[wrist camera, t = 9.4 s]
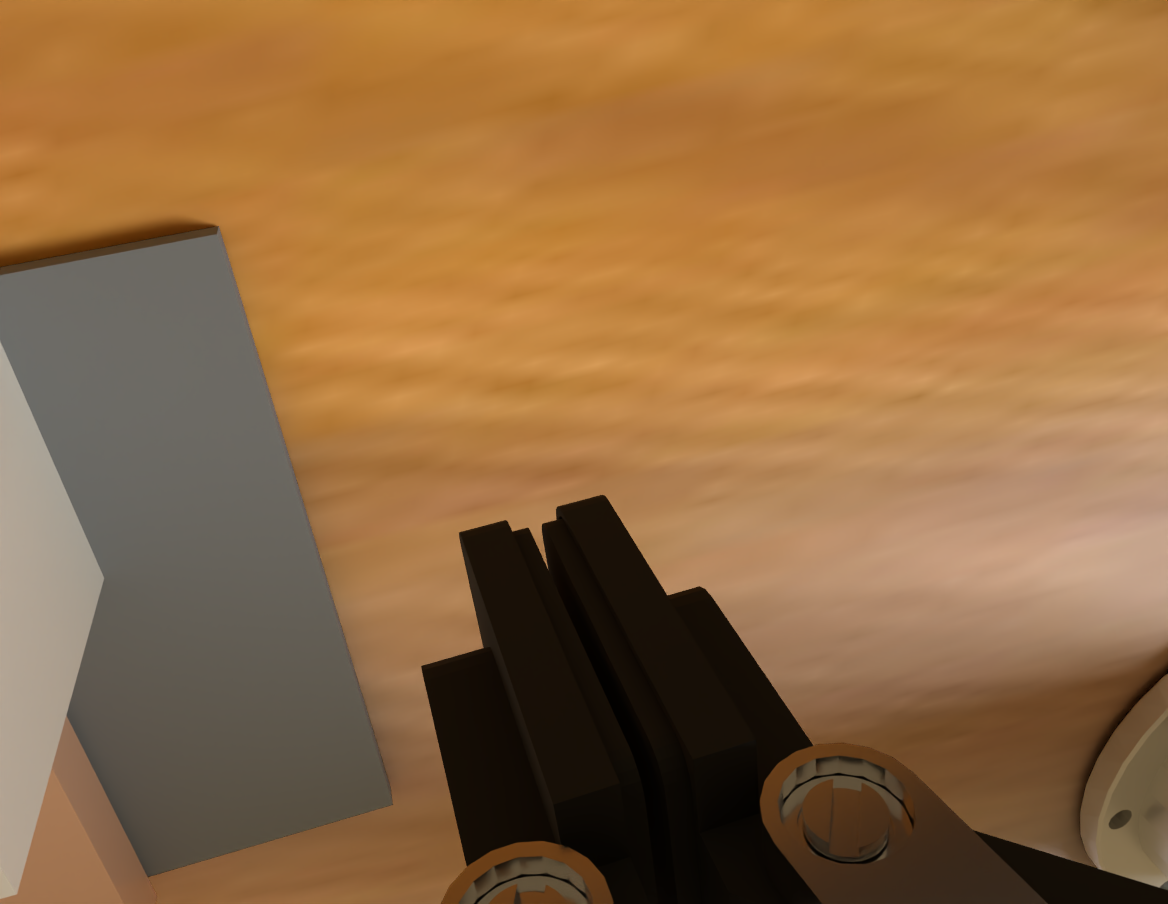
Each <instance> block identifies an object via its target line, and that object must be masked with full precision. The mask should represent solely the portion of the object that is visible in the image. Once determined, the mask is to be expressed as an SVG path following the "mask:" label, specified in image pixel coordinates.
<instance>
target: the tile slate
mask: <svg viewBox="0 0 1168 904" xmlns="http://www.w3.org/2000/svg"><path fill="white" fill-rule="evenodd" d="M103 581H104V577H103V574H102V572H101V570H100V567H99V565H98V563H97V561H96V558H95V556H94V554H93V551H92V549H91V547H90V545H89V542H88V540H87V538H86V536H85V533H84V531H83V529H82V526H81V524H80V522H79V520H78V517H77V515H76V513H75V510H74V508H73V506H72V504H71V501H70V499H69V497H68V494H67V492H66V490H65V488H64V485H63V483H62V481H61V479H60V476H59V474H58V472H57V469H56V467H55V465H54V463H53V460H52V458H51V456H50V453H49V451H48V449H47V447H46V444H45V442H44V440H43V437H42V435H41V433H40V431H39V428H38V426H37V424H36V422H35V419H34V417H33V415H32V412H31V410H30V408H29V406H28V403H27V401H26V399H25V396H24V394H23V392H22V390H21V387H20V385H19V383H18V380H17V378H16V376H15V374H14V371H13V369H12V367H11V365H10V362H9V360H8V358H7V355H6V353H5V351H4V349H3V346H2V344H1V342H0V899H2V898H6V897H9V896H13V895H16V894H17V892H18V889H19V885H20V881H21V878H22V874H23V870H24V867H25V863H26V860H27V856H28V852H29V849H30V845H31V842H32V838H33V834H34V831H35V827H36V823H37V820H38V816H39V813H40V809H41V805H42V802H43V798H44V794H45V791H46V787H47V784H48V780H49V776H50V773H51V769H52V765H53V762H54V758H55V755H56V751H57V747H58V744H59V740H60V736H61V733H62V729H63V726H64V722H65V718H66V715H67V711H68V707H69V704H70V700H71V697H72V693H73V689H74V686H75V682H76V678H77V675H78V671H79V668H80V664H81V660H82V657H83V653H84V649H85V646H86V642H87V639H88V635H89V631H90V628H91V624H92V620H93V617H94V613H95V610H96V606H97V602H98V599H99V595H100V591H101V588H102V584H103Z"/></svg>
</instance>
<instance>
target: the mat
mask: <svg viewBox="0 0 1168 904" xmlns="http://www.w3.org/2000/svg"><path fill="white" fill-rule="evenodd" d="M0 342H1V344H2V346H3V349H4V351H5V353H6V355H7V358H8V360H9V362H10V365H11V367H12V369H13V371H14V374H15V376H16V378H17V380H18V383H19V385H20V387H21V390H22V392H23V394H24V396H25V399H26V401H27V403H28V406H29V408H30V410H31V412H32V415H33V417H34V419H35V422H36V424H37V426H38V428H39V431H40V433H41V435H42V437H43V440H44V442H45V444H46V447H47V449H48V451H49V453H50V456H51V458H52V460H53V463H54V465H55V467H56V469H57V472H58V474H59V476H60V479H61V481H62V483H63V485H64V488H65V490H66V492H67V494H68V497H69V499H70V501H71V504H72V506H73V508H74V510H75V513H76V515H77V517H78V520H79V522H80V524H81V526H82V529H83V531H84V533H85V536H86V538H87V540H88V542H89V545H90V547H91V549H92V551H93V554H94V556H95V558H96V561H97V563H98V565H99V567H100V570H101V572H102V574H103V577H104V581H103V584H102V588H101V591H100V595H99V599H98V602H97V606H96V610H95V613H94V617H93V620H92V624H91V628H90V631H89V635H88V639H87V642H86V646H85V649H84V653H83V657H82V660H81V664H80V668H79V671H78V675H77V678H76V682H75V686H74V689H73V693H72V697H71V700H70V704H69V707H68V711H67V715H66V716H67V718H68V720H69V722H70V724H71V726H72V728H73V730H74V732H75V734H76V736H77V738H78V740H79V742H80V744H81V745H82V747H83V749H84V751H85V753H86V755H87V757H88V759H89V761H90V763H91V765H92V767H93V769H94V771H95V773H96V775H97V777H98V779H99V781H100V783H101V785H102V787H103V789H104V791H105V793H106V795H107V797H108V799H109V801H110V803H111V805H112V807H113V809H114V811H115V813H116V815H117V817H118V819H119V821H120V823H121V825H122V827H123V829H124V831H125V833H126V835H127V837H128V839H129V841H130V843H131V845H132V847H133V849H134V851H135V853H136V855H137V857H138V859H139V861H140V863H141V865H142V867H143V869H144V871H145V873H146V875H147V877H150V876H153V875H157V874H160V873H163V872H167V871H170V870H174V869H177V868H180V867H184V866H187V865H191V864H194V863H197V862H201V861H204V860H207V859H211V858H214V857H218V856H221V855H224V854H228V853H231V852H235V851H238V850H241V849H245V848H248V847H251V846H255V845H258V844H262V843H265V842H268V841H272V840H275V839H279V838H282V837H285V836H289V835H292V834H296V833H299V832H302V831H306V830H309V829H312V828H316V827H319V826H323V825H326V824H329V823H333V822H336V821H340V820H343V819H346V818H350V817H353V816H357V815H360V814H363V813H367V812H370V811H373V810H377V809H380V808H384V807H387V806H390V805H393V803H392V795H391V788H390V784H389V781H388V778H387V775H386V771H385V768H384V765H383V761H382V758H381V755H380V752H379V748H378V745H377V742H376V739H375V735H374V732H373V729H372V726H371V722H370V719H369V716H368V712H367V709H366V706H365V703H364V699H363V696H362V693H361V690H360V686H359V683H358V680H357V677H356V673H355V670H354V667H353V663H352V660H351V657H350V654H349V650H348V647H347V644H346V641H345V637H344V634H343V631H342V627H341V624H340V621H339V618H338V614H337V611H336V608H335V605H334V601H333V598H332V595H331V592H330V588H329V585H328V582H327V578H326V575H325V572H324V569H323V565H322V562H321V559H320V556H319V552H318V549H317V546H316V543H315V539H314V536H313V533H312V529H311V526H310V523H309V520H308V516H307V513H306V510H305V507H304V503H303V500H302V497H301V494H300V490H299V487H298V484H297V480H296V477H295V474H294V471H293V467H292V464H291V461H290V458H289V454H288V451H287V448H286V445H285V441H284V438H283V435H282V431H281V428H280V425H279V422H278V418H277V415H276V412H275V409H274V405H273V402H272V399H271V396H270V392H269V389H268V386H267V382H266V379H265V376H264V373H263V369H262V366H261V363H260V360H259V356H258V353H257V350H256V346H255V343H254V340H253V337H252V333H251V330H250V327H249V324H248V320H247V317H246V314H245V311H244V307H243V304H242V301H241V297H240V294H239V291H238V288H237V284H236V281H235V278H234V275H233V271H232V268H231V265H230V262H229V258H228V255H227V252H226V248H225V245H224V242H223V239H222V235H221V232H220V229H219V226H217V227H211V228H206V229H201V230H195V231H190V232H185V233H179V234H174V235H169V236H164V237H158V238H153V239H148V240H142V241H137V242H132V243H126V244H121V245H116V246H111V247H105V248H100V249H95V250H89V251H84V252H79V253H73V254H68V255H63V256H57V257H52V258H47V259H42V260H36V261H31V262H26V263H20V264H15V265H10V266H4V267H0Z"/></svg>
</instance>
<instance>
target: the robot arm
mask: <svg viewBox="0 0 1168 904" xmlns="http://www.w3.org/2000/svg"><path fill="white" fill-rule="evenodd" d="M556 518H557V520H555V521H551V522H548V523H544V524H542V534H543V541H544V547H545V553H546V558H547V564H548V569H547V566H546V564H545V562H544V560H543V558H542V556H541V553H540V551H539V549H538V547H537V545H536V542H535V540H534V538H533V536H532V534H531V532H530V530H529V528H525V529H521V530H517V531H514V532H512V530H511V528H510V526H509V524H508V522H507V521H506V520H505V521H501V522H497V523H493V524H489V525H486V526H482V527H478V528H474V529H470V530H467V531H463V532H459V537H460V543H461V548H462V552H463V557H464V561H465V566H466V570H467V575H468V579H469V584H470V589H471V593H472V598H473V602H474V607H475V611H476V616H477V620H478V625H479V629H480V634H481V638H482V643H483V649H479V650H476V651H472V652H469V653H465V654H462V655H458V656H455V657H451V658H448V659H444V660H441V661H437V662H434V663H430V664H427V665H423V666H421V668H422V673H423V677H424V682H425V686H426V690H427V695H428V699H429V704H430V708H431V712H432V717H433V721H434V725H435V730H436V734H437V738H438V743H439V747H440V752H441V756H442V760H443V765H444V769H445V773H446V778H447V782H448V786H449V791H450V795H451V799H452V804H453V808H454V813H455V817H456V821H457V826H458V830H459V834H460V839H461V843H462V847H463V852H464V856H465V861H466V865H467V868H466V869H465V870H464V871H463V872H462V873H461V874H460V875H459V876H458V877H457V878H456V880H455V881H454V882H453V883H452V884H451V885H450V886H449V888H448V890H447V892H446V894H445V896H444V898H443V900H442V902H441V904H1168V673H1167V674H1166V675H1165V676H1163V677H1162V678H1161V679H1160V680H1159V681H1158V682H1157V683H1156V684H1155V685H1154V686H1153V687H1152V688H1151V689H1150V690H1149V691H1148V692H1147V693H1146V694H1145V695H1144V696H1143V697H1142V698H1141V699H1140V700H1139V701H1138V702H1137V703H1136V704H1135V706H1134V707H1133V708H1132V709H1131V711H1130V712H1129V713H1128V714H1127V715H1126V717H1125V718H1124V719H1123V720H1122V722H1121V723H1120V724H1119V725H1118V727H1117V728H1116V729H1115V730H1114V732H1113V734H1112V735H1111V737H1110V739H1109V740H1108V742H1107V743H1106V745H1105V747H1104V748H1103V750H1102V752H1101V753H1100V755H1099V757H1098V758H1097V761H1096V763H1095V765H1094V768H1093V770H1092V772H1091V775H1090V777H1089V779H1088V782H1087V784H1086V788H1085V792H1084V797H1083V801H1082V806H1081V811H1080V835H1081V838H1082V841H1083V844H1084V847H1085V851H1086V853H1087V855H1088V856H1089V857H1090V859H1091V860H1092V861H1093V863H1094V864H1095V865H1096V866H1097V868H1098V869H1097V868H1094V867H1091V866H1088V865H1084V864H1081V863H1078V862H1075V861H1071V860H1068V859H1065V858H1062V857H1058V856H1055V855H1052V854H1049V853H1045V852H1042V851H1039V850H1036V849H1032V848H1029V847H1026V846H1023V845H1019V844H1016V843H1013V842H1010V841H1006V840H1003V839H1000V838H997V837H993V836H990V835H987V834H984V833H980V832H977V831H974V830H972V829H971V828H970V827H969V826H968V825H967V824H966V823H965V822H964V821H963V820H961V819H960V818H959V817H958V816H957V815H956V814H955V813H954V812H953V811H952V810H951V809H950V808H949V807H948V806H947V805H946V804H945V803H944V802H943V801H942V800H941V799H940V798H939V797H938V796H937V795H936V794H935V793H934V792H933V791H932V790H931V789H930V788H929V787H928V786H927V785H926V784H924V783H923V782H922V781H921V780H920V779H919V778H918V777H917V776H916V775H915V774H914V773H913V772H912V771H910V770H909V769H908V768H906V767H905V766H904V765H902V764H901V763H900V762H898V761H897V760H896V759H894V758H893V757H891V756H888V755H886V754H884V753H881V752H879V751H876V750H874V749H872V748H869V747H864V746H858V745H853V744H847V743H833V744H818V745H814V746H813V744H812V743H811V741H810V740H809V739H808V737H807V736H806V734H805V733H804V731H803V730H802V728H801V727H800V725H799V724H798V722H797V721H796V719H795V718H794V717H793V715H792V714H791V712H790V711H789V709H788V708H787V706H786V705H785V703H784V702H783V700H782V699H781V698H780V696H779V695H778V693H777V692H776V690H775V689H774V687H773V686H772V684H771V683H770V681H769V680H768V678H767V677H766V676H765V674H764V673H763V671H762V670H761V668H760V667H759V665H758V664H757V662H756V661H755V659H754V658H753V656H752V655H751V654H750V652H749V651H748V649H747V648H746V646H745V645H744V643H743V642H742V640H741V639H740V637H739V636H738V634H737V633H736V632H735V630H734V629H733V627H732V626H731V624H730V623H729V621H728V620H727V618H726V617H725V615H724V614H723V613H722V611H721V610H720V608H719V607H718V605H717V604H716V602H715V601H714V599H713V598H712V597H711V595H710V594H709V593H708V592H707V591H706V590H705V589H704V588H702V587H696V588H692V589H689V590H685V591H682V592H678V593H675V594H671V595H668V596H667V594H666V593H665V591H664V589H663V588H662V586H661V585H660V583H659V581H658V580H657V578H656V576H655V575H654V573H653V572H652V570H651V568H650V567H649V565H648V564H647V562H646V560H645V559H644V557H643V555H642V554H641V552H640V551H639V549H638V547H637V546H636V544H635V543H634V541H633V539H632V538H631V536H630V534H629V533H628V531H627V530H626V528H625V526H624V525H623V523H622V521H621V520H620V518H619V517H618V515H617V513H616V512H615V510H614V509H613V507H612V505H611V504H610V502H609V500H608V499H607V498H606V497H605V496H604V495H600V496H596V497H592V498H589V499H585V500H581V501H577V502H573V503H570V504H566V505H562V506H558V507H557V509H556ZM548 570H549V571H548Z"/></svg>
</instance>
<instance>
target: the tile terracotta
mask: <svg viewBox="0 0 1168 904" xmlns="http://www.w3.org/2000/svg"><path fill="white" fill-rule="evenodd" d="M156 901H157V895H156V893H155V891H154V889H153V887H152V885H151V883H150V881H149V879H148V877H147V875H146V873H145V871H144V869H143V867H142V865H141V863H140V861H139V859H138V857H137V855H136V853H135V851H134V849H133V847H132V845H131V843H130V841H129V839H128V837H127V835H126V833H125V831H124V829H123V827H122V825H121V823H120V821H119V819H118V817H117V815H116V813H115V811H114V809H113V807H112V805H111V803H110V801H109V799H108V797H107V795H106V793H105V791H104V789H103V787H102V785H101V783H100V781H99V779H98V777H97V775H96V773H95V771H94V769H93V767H92V765H91V763H90V761H89V759H88V757H87V755H86V753H85V751H84V749H83V747H82V745H81V744H80V742H79V740H78V738H77V736H76V734H75V732H74V730H73V728H72V726H71V724H70V722H69V720H68V718H67V716H66V718H65V722H64V726H63V729H62V733H61V736H60V740H59V744H58V747H57V751H56V755H55V758H54V762H53V765H52V769H51V773H50V776H49V780H48V784H47V787H46V791H45V794H44V798H43V802H42V805H41V809H40V813H39V816H38V820H37V823H36V827H35V831H34V834H33V838H32V842H31V845H30V849H29V852H28V856H27V860H26V863H25V867H24V870H23V874H22V878H21V881H20V885H19V889H18V892H17V894H16V895H13V896H9V897H6V898H2V899H0V904H156Z"/></svg>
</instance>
